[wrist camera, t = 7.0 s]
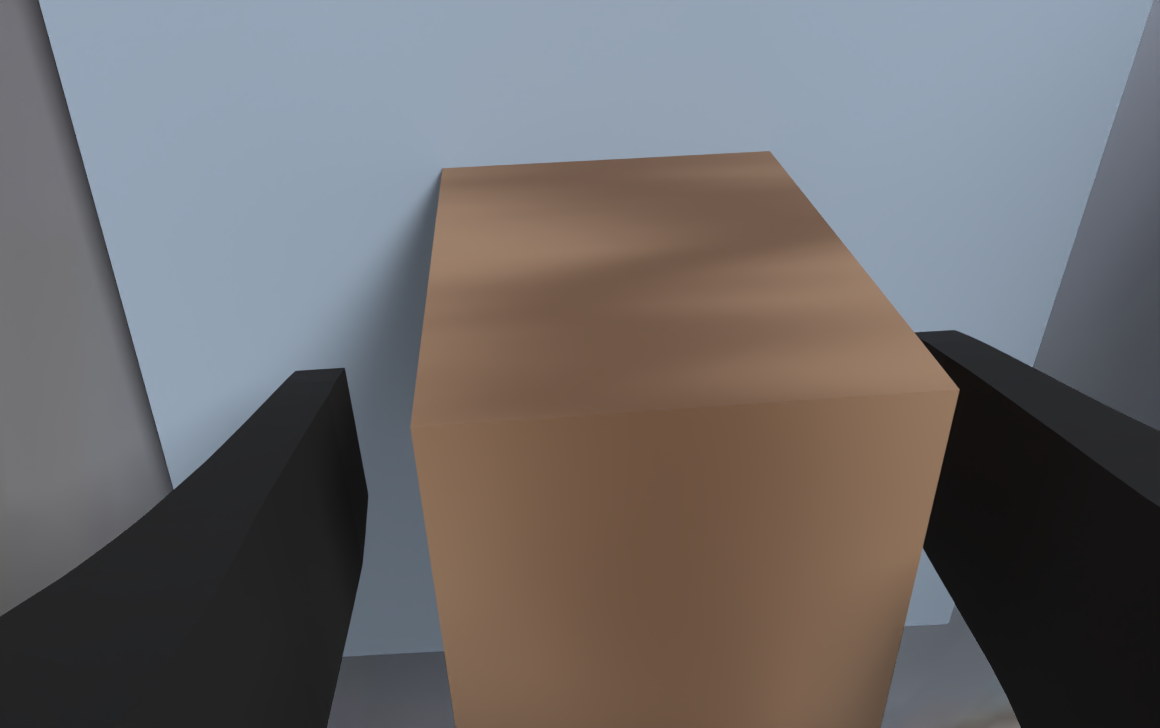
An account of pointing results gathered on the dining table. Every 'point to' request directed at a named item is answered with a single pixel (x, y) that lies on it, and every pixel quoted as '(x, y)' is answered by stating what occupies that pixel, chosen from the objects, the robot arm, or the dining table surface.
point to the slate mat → (544, 135)
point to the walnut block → (667, 450)
